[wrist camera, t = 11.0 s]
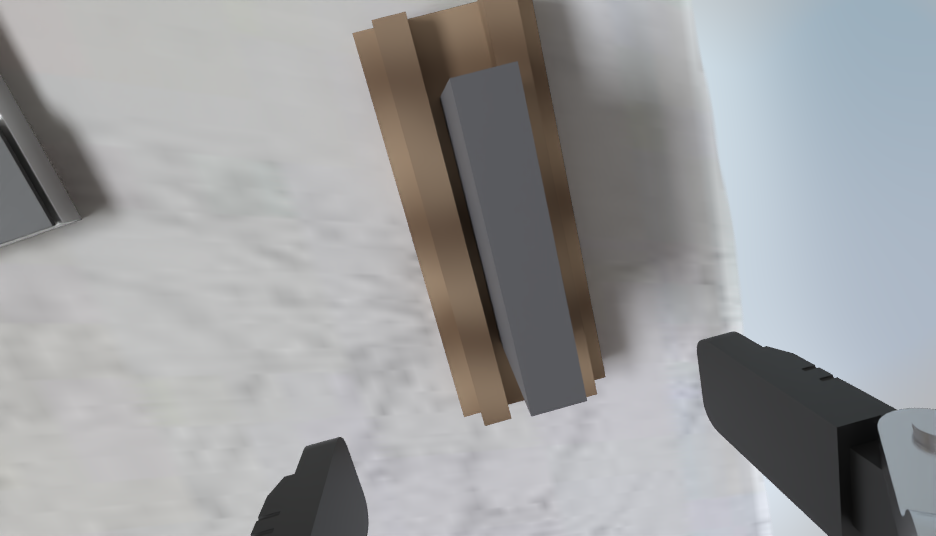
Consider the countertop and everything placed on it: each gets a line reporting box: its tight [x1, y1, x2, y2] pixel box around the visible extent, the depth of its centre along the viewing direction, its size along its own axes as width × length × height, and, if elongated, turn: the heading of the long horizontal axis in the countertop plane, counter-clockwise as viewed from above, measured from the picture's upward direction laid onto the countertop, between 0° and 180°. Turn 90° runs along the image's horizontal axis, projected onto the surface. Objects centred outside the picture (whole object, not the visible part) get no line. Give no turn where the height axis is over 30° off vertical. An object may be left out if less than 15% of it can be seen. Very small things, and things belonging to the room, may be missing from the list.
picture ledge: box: [353, 0, 605, 426], centre depth 27 cm, size 22×9×4 cm, turn 14°
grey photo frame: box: [440, 61, 587, 416], centre depth 23 cm, size 14×2×8 cm, turn 14°
